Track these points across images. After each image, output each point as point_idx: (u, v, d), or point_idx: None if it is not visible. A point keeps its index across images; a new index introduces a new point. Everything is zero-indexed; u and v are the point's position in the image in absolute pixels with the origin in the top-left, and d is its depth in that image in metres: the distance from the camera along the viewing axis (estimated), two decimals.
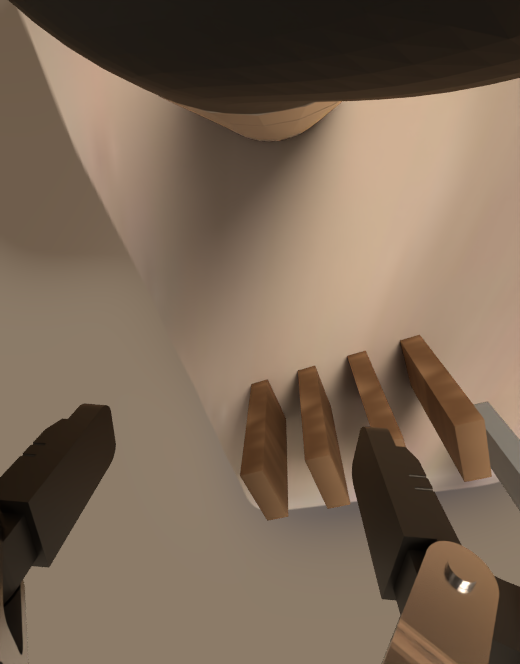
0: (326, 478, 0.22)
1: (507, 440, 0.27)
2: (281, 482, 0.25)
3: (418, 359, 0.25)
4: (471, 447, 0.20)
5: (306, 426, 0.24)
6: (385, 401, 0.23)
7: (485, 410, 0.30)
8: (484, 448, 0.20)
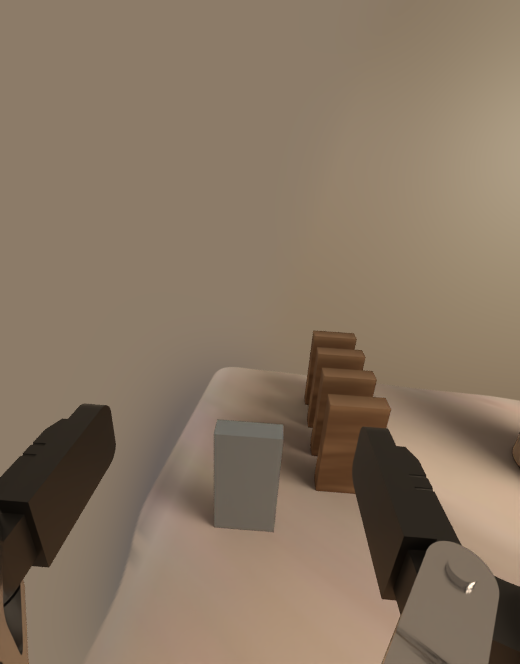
0: (345, 352, 0.37)
1: None
2: None
3: None
4: (363, 401, 0.29)
5: None
6: None
7: None
8: (362, 405, 0.28)
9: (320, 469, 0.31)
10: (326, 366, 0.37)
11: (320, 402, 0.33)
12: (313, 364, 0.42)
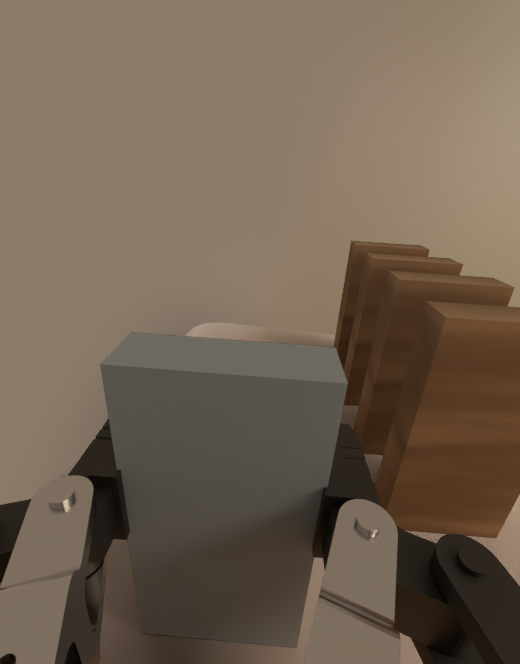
0: (421, 259, 0.20)
1: None
2: None
3: None
4: None
5: None
6: None
7: None
8: None
9: (397, 483, 0.14)
10: None
11: (385, 342, 0.16)
12: (351, 299, 0.25)
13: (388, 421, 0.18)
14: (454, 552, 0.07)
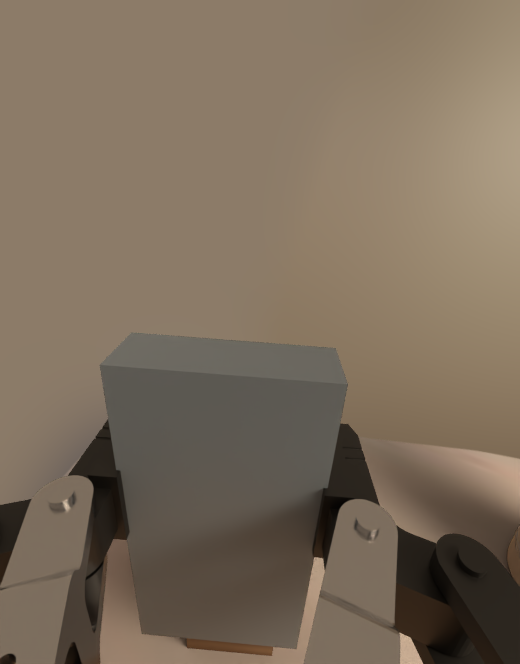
0: None
1: None
2: None
3: None
4: None
5: None
6: None
7: None
8: None
9: None
10: None
11: None
12: None
13: None
14: (454, 552, 0.07)
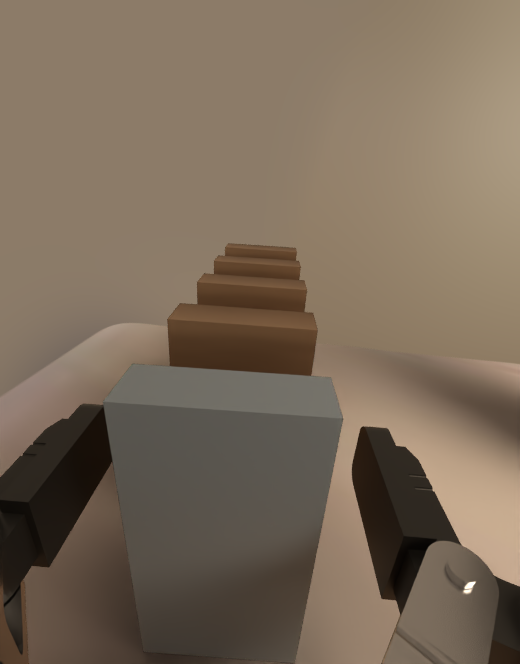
0: (266, 261, 0.20)
1: None
2: None
3: None
4: (256, 315, 0.12)
5: None
6: None
7: None
8: (247, 322, 0.11)
9: None
10: None
11: None
12: None
13: None
14: None
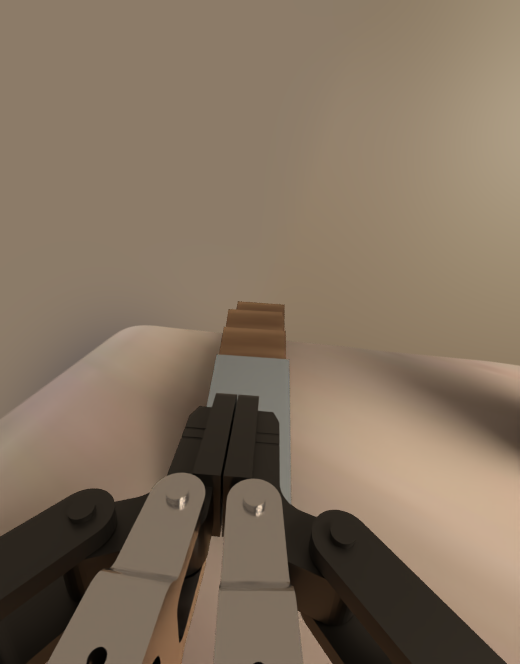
0: None
1: None
2: None
3: None
4: None
5: None
6: None
7: None
8: None
9: None
10: None
11: None
12: None
13: None
14: (329, 526, 0.07)
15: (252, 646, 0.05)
